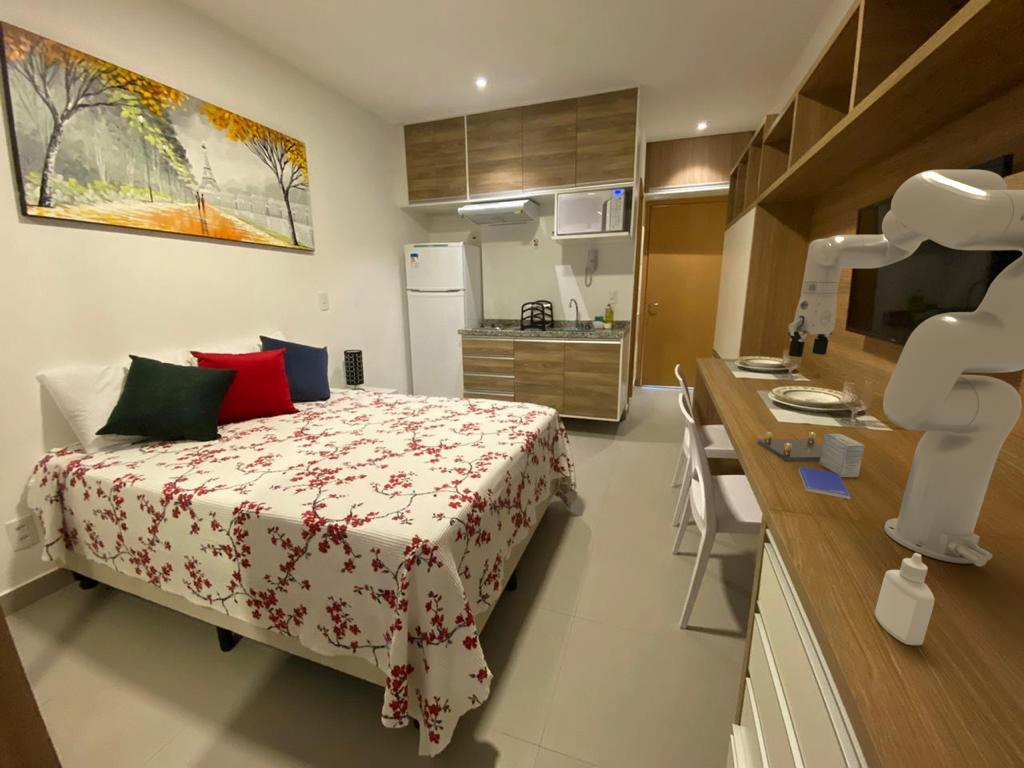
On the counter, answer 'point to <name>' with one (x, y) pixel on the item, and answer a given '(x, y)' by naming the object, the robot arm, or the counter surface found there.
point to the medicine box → (841, 455)
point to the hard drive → (823, 482)
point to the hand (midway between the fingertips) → (807, 355)
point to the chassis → (793, 448)
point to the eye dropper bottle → (906, 602)
